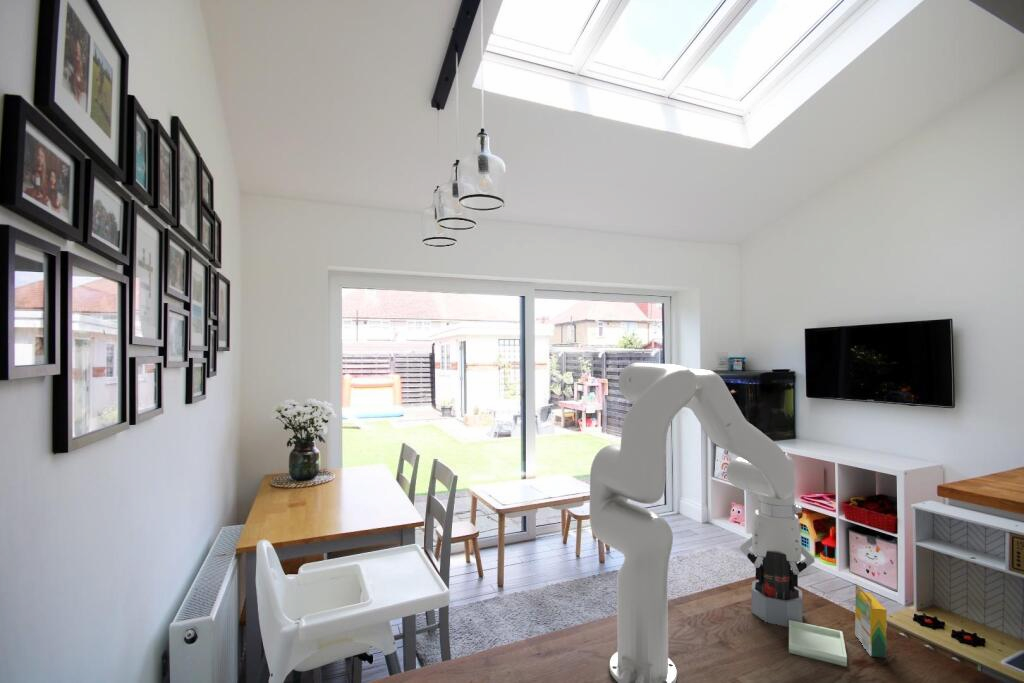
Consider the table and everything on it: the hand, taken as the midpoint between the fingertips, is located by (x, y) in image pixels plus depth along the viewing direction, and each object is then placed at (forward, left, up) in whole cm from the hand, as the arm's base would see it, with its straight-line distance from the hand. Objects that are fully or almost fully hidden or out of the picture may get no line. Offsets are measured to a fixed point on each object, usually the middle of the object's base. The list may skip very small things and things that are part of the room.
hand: (776, 585), depth 122 cm
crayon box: (-6, -17, -7) cm, 20 cm away
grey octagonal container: (0, 0, -7) cm, 7 cm away
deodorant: (0, 0, -7) cm, 7 cm away
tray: (-10, -8, -7) cm, 14 cm away
